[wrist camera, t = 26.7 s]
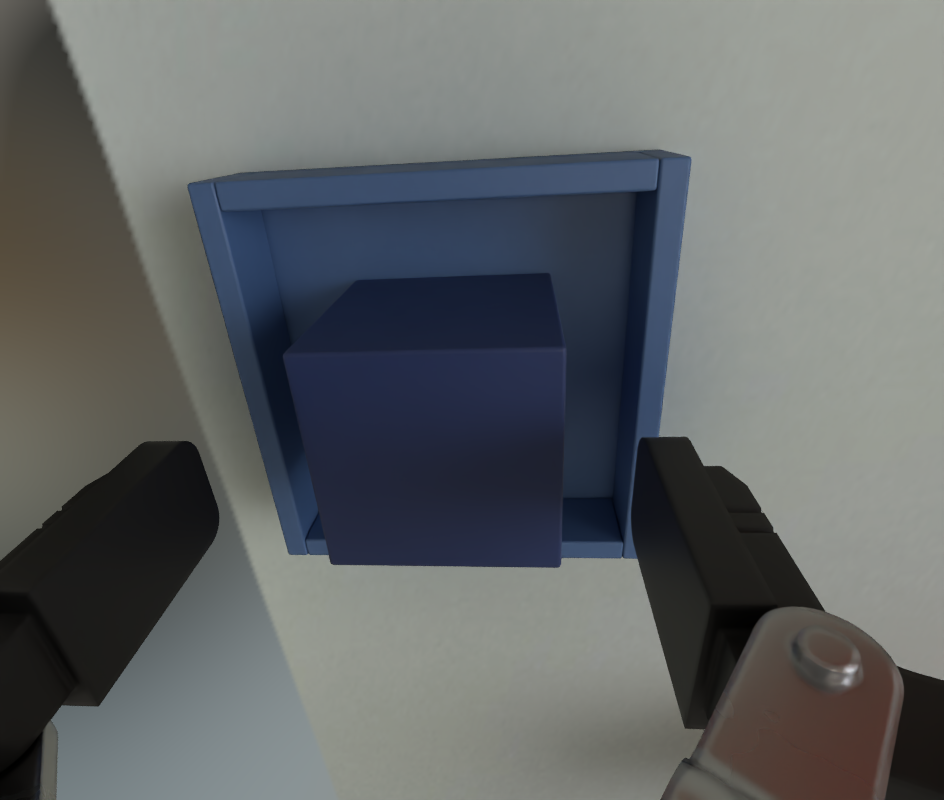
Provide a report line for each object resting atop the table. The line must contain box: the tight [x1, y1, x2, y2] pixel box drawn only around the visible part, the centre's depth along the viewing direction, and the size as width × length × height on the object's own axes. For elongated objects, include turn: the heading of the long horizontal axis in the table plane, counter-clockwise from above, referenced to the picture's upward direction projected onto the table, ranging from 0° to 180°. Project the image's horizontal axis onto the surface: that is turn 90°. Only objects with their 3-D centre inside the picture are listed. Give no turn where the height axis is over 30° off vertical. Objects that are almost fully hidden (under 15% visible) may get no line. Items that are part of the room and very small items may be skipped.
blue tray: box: [188, 150, 691, 559], centre depth 14 cm, size 10×10×2 cm
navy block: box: [283, 273, 567, 568], centre depth 13 cm, size 5×5×5 cm
